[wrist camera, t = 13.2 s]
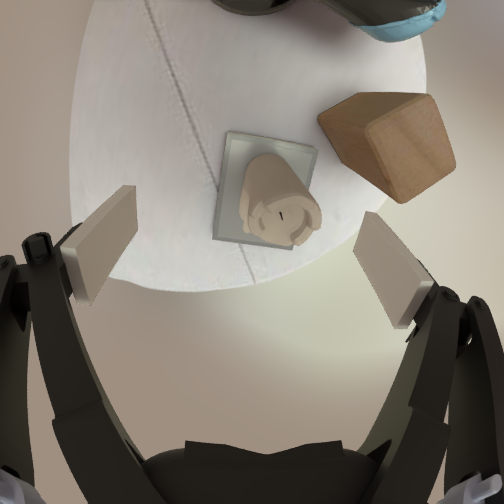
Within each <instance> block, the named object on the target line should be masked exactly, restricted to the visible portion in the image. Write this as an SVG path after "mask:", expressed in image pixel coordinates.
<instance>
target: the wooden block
mask: <svg viewBox="0 0 504 504" xmlns="http://www.w3.org/2000/svg"><path fill="white" fill-rule="evenodd" d="M318 122H319V124H320V126H321V127H322V129H323V130H324V132H325V134H326V135H327V137H328V139H329V140H330V142H331V144H332V145H333V147H334V149H335V151H336V152H337V154H338V156H339V158H340V160H341V161H342V163H343V164H344V165H346V166H347V167H349V168H350V169H352V170H353V171H355V172H356V173H357V174H359V175H360V176H362V177H363V178H365V179H366V180H367V181H369V182H370V183H372V184H373V185H374V186H376V187H377V188H379V189H380V190H381V191H383V192H384V193H385V194H387V195H388V196H389V197H391V198H392V199H393V200H395V201H396V202H397V203H400V204H403V203H406V202H408V201H409V200H411V199H412V198H414V197H415V196H417V195H419V194H420V193H422V192H423V191H424V190H426V189H427V188H429V187H430V186H432V185H433V184H435V183H436V182H438V181H439V180H441V179H442V178H444V177H445V176H447V175H448V174H450V173H451V172H452V171H454V169H455V168H456V161H455V157H454V154H453V151H452V147H451V144H450V141H449V138H448V135H447V132H446V129H445V126H444V123H443V121H442V118H441V115H440V113H439V110H438V108H437V105H436V103H435V101H434V99H433V98H432V96H431V95H429V94H423V93H404V92H361V93H358V94H356V95H354V96H352V97H350V98H348V99H346V100H345V101H343V102H341V103H339V104H337V105H336V106H334V107H332V108H330V109H329V110H327V111H325V112H323V113H322V114H320V115H319V117H318Z"/></svg>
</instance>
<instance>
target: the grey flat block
mask: <svg viewBox="0 0 504 504" xmlns="http://www.w3.org/2000/svg"><path fill="white" fill-rule="evenodd" d="M317 153H318V150H317V149H316V148H314V147H311V146H307V145H302V144H298V143H293V142H288V141H283V140H278V139H273V138H268V137H262V136H256V135H250V134H244V133H237V132H230V131H228V133H227V139H226V145H225V151H224V158H223V164H222V171H221V178H220V185H219V192H218V199H217V206H216V214H215V222H214V230H213V238H212V239H213V240H220V241H227V242H235V243H242V244H250V245H257V246H264V247H271V248H279V249H286V250H292V249H293V246H294V244H292V245H290V246H281V245H277V244H273V243H269V242H267V241H264V240H263V239H261V238H260V237H259V236H255V235H253V234H252V233H245V232H244V230H243V223H244V221H243V220H242V219H241V217H240V214H239V204H240V196H241V191H242V187H243V183H244V179H245V171H246V168H247V166H248V164H249V163H250V162H251V161H252V160H253V159H254V158H255V157H257V156H259V155H262V154H275V155H278V156H280V157H282V158H283V159H284V160H285V161H286V162H287V163H288V164H289V166H290V167H291V168H292V170H293V171H294V172H295V174H296V175H297V176H298V177H299V179H300V180H301V182H302V183H303V184H304V186H305V187H306V188H307V190H309V186H310V182H311V178H312V174H313V170H314V166H315V161H316V157H317Z"/></svg>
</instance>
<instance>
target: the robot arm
mask: <svg viewBox="0 0 504 504" xmlns="http://www.w3.org/2000/svg"><path fill="white" fill-rule="evenodd" d="M213 1H214V2H215V3H216V4H217V5H219V6H220V7H222V8H224V9H226V10H228V11H230V12H233V13H237V14H242V15H251V16H256V15H266V14H271V13H274V12H277V11H280V10H282V9H284V8H285V7H287V6H288V5H290V4H291V3H292V2H293V1H294V0H213ZM316 1H317V2H319V3H321V4H323V5H324V6H326V7H328V8H329V9H331V10H333V11H334V12H336V13H337V14H339V15H340V16H342V17H344V18H345V19H347V20H348V22H349V23H350V24H351V25H353V26H354V27H357V28H360V29H361V30H363V31H364V32H366V33H367V34H369V35H370V36H371V37H373V38H374V39H376V40H379V41H383V42H388V43H391V42H400V41H404V40H407V39H410V38H412V37H415V36H417V35H419V34H421V33H423V32H424V31H426V30H427V29H429V28H431V27H432V26H433V22H436V21H439V20H440V19H441V18H442V17H443V15H444V14H445V11H446V2H445V0H316ZM137 231H138V223H137V207H136V186H126V185H123V186H122V187H121V188H120V189H119V190H118V191H116V192H115V193H114V194H113V195H112V196H111V197H110V198H109V199H107V200H106V201H105V202H104V203H103V204H102V205H101V206H100V207H99V208H98V209H97V210H96V211H95V212H93V213H92V214H91V215H90V216H89V217H88V218H87V219H86V220H85V221H84V222H83V223H79V224H77V225H76V226H74V227H72V228H71V229H70V230H69V232H67V234H65V235H64V236H63V238H62V239H61V240H60V241H59V242H58V243H57V244H56V245H55V246H54V247H53V245H52V241H51V236H50V235H49V233H46V232H40V233H35V234H33V235H31V236H29V237H28V238H26V239H25V240H24V241H23V243H22V248H23V252H24V255H25V258H26V261H27V264H21V265H17V264H16V261H15V258H14V257H13V256H12V255H5V256H1V257H0V504H46V503H45V501H44V500H43V499H42V498H41V496H40V494H39V493H38V492H37V490H36V489H35V488H34V485H35V484H34V468H33V460H32V453H31V445H30V437H29V426H28V410H27V367H28V366H27V365H28V350H29V338H30V330H31V321H32V323H33V330H34V335H35V341H36V346H37V351H38V356H39V360H40V365H41V369H42V373H43V377H44V381H45V384H46V388H47V391H48V394H49V398H50V401H51V404H52V407H53V410H54V413H55V419H53V420H52V426H53V429H54V432H55V435H56V438H57V440H58V443H59V445H60V448H61V450H62V452H63V455H64V457H65V459H66V461H67V464H68V466H69V468H70V470H71V472H72V474H73V476H74V478H75V480H76V482H77V484H78V486H79V488H80V489H81V491H82V493H83V495H84V497H85V498H86V500H87V502H88V504H428V503H427V500H428V498H429V496H430V494H431V491H432V489H433V486H434V484H435V481H436V478H437V476H438V473H439V470H440V467H441V464H442V461H443V458H444V455H445V452H446V448H447V454H446V463H445V475H444V499H442V500H440V501H438V503H437V504H504V352H503V348H502V345H501V342H500V338H499V335H498V332H497V329H496V326H495V323H494V320H493V317H492V314H491V312H490V309H489V307H488V305H487V304H486V303H485V301H484V300H483V299H482V298H479V297H477V296H472V297H471V298H470V300H469V301H468V303H467V304H466V303H463V302H460V299H459V297H458V295H457V294H456V293H455V292H454V291H453V290H451V289H450V288H448V287H445V286H439V285H438V284H437V282H436V281H435V280H434V279H433V277H432V276H431V275H430V273H428V271H427V269H426V268H424V266H423V264H422V263H421V262H420V261H419V260H418V259H416V258H415V257H414V255H413V254H412V253H411V252H410V250H409V249H408V248H407V247H406V246H405V245H404V243H403V242H402V241H401V240H400V239H399V237H398V236H397V235H396V234H395V233H394V232H393V231H392V229H391V228H390V227H389V226H388V225H387V224H386V223H385V222H384V221H383V219H382V218H381V217H380V216H379V215H378V214H377V213H373V212H368V211H366V212H365V215H364V219H363V222H362V225H361V228H360V231H359V234H358V237H357V240H356V243H355V246H354V249H353V252H354V254H355V256H356V257H357V259H358V261H359V263H360V265H361V266H362V268H363V270H364V272H365V273H366V275H367V277H368V279H369V281H370V283H371V284H372V286H373V288H374V290H375V292H376V293H377V296H378V298H379V299H380V301H381V303H382V305H383V307H384V309H385V311H386V313H387V315H388V317H389V319H390V321H391V323H392V325H393V327H394V329H407V328H408V326H409V325H410V323H411V321H412V320H413V319H414V321H415V323H416V326H415V328H414V329H413V331H412V332H411V334H410V335H409V337H408V338H407V340H406V341H405V342H408V341H409V343H408V346H407V349H406V352H405V354H404V357H403V360H402V362H401V365H400V368H399V370H398V373H397V375H396V378H395V380H394V382H393V385H392V387H391V389H390V392H389V394H388V396H387V399H386V401H385V403H384V405H383V407H382V409H381V411H380V413H379V415H378V417H377V419H376V421H375V423H374V425H373V427H372V429H371V431H370V433H369V435H368V436H367V438H366V440H365V442H364V443H363V444H362V446H361V447H360V448H359V449H358V450H357V451H353V450H348V449H343V447H342V441H341V440H339V441H331V442H322V443H311V444H305V445H301V446H298V447H295V448H291V449H288V450H284V451H281V452H277V453H273V454H261V453H256V452H252V451H248V450H244V449H240V448H237V447H233V446H229V445H226V444H213V443H212V444H211V443H202V442H193V441H185V448H182V449H175V450H169V451H166V452H163V453H159V454H157V455H155V456H153V457H151V458H149V459H147V460H145V459H144V458H143V456H142V455H141V453H140V452H139V450H138V449H137V447H136V446H135V445H134V443H133V442H132V440H131V439H130V437H129V435H128V434H127V432H126V430H125V429H124V427H123V425H122V423H121V422H120V420H119V418H118V416H117V414H116V413H115V411H114V409H113V407H112V405H111V403H110V401H109V399H108V397H107V395H106V393H105V391H104V389H103V387H102V385H101V382H100V380H99V378H98V376H97V374H96V371H95V369H94V367H93V365H92V362H91V360H90V357H89V355H88V352H87V350H86V347H85V345H84V342H83V340H82V337H81V334H80V331H79V328H78V325H77V323H76V319H75V317H74V314H73V310H72V307H71V304H70V301H69V297H70V295H71V294H72V292H73V294H74V297H75V300H76V303H81V304H85V305H90V306H91V304H92V303H93V301H94V299H95V297H96V296H97V294H98V292H99V290H100V289H101V287H102V285H103V284H104V282H105V280H106V279H107V277H108V275H109V274H110V272H111V270H112V269H113V267H114V266H115V264H116V262H117V261H118V259H119V258H120V256H121V255H122V253H123V252H124V250H125V248H126V247H127V245H128V244H129V242H130V241H131V239H132V238H133V236H134V235H135V234H136V232H137ZM471 338H472V339H471ZM470 339H471V342H470V343H469V345H468V342H469V341H470ZM448 401H449V416H448V424H446V423H444V418H445V414H446V409H447V405H448Z"/></svg>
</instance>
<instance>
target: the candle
mask: <svg viewBox="0 0 504 504" xmlns="http://www.w3.org/2000/svg"><path fill="white" fill-rule="evenodd" d="M239 214H240V217H241V219H242V220H243V221H244V223H243V230H244V232H245V233H252V234H253V235H255V236H259V237H260V238H261V239H263V240H264V241H267V242H269V243H273V244H277V245H281V246H290V245H292V244H295V245H297V246H299V245H301V244H303V243H304V242H305V241H306V240H307V239H308V238H309V236H310V235H311V234H312V232H313V231H314V230H318V229H319V228H321V221H322V217H321V210H320V208H319V205H318V204H317V202H316V201H315V199H314V198H313V197H312V195H311V194H310V192H309V191H308V190H307V188H306V187H305V186H304V184H303V183H302V182H301V180H300V179H299V177H298V176H297V175H296V174H295V172H294V171H293V170H292V168H291V167H290V166H289V164H288V163H287V162H286V161H285V160H284V159H283V158H282V157H280V156H278V155H275V154H262V155H259V156H257V157H255V158H254V159H253V160H252V161H251V162H250V163H249V164H248V166H247V168H246V171H245V179H244V183H243V187H242V191H241V196H240V204H239Z"/></svg>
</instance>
